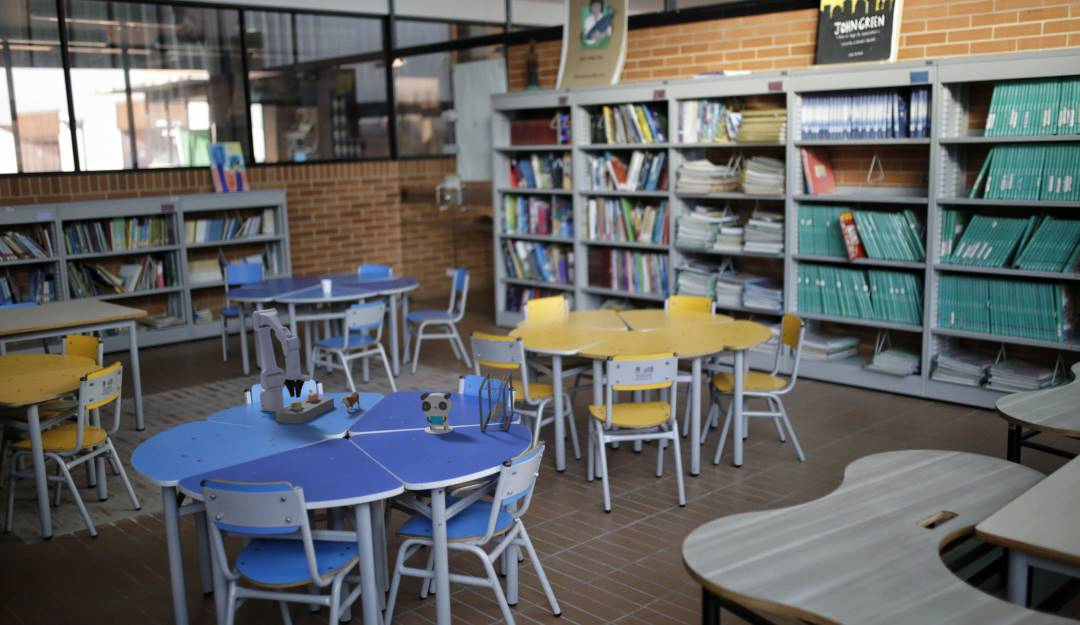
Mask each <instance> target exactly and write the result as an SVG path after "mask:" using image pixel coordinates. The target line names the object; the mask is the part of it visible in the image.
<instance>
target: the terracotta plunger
mask: <svg viewBox="0 0 1080 625" xmlns="http://www.w3.org/2000/svg"><path fill="white" fill-rule="evenodd" d="M319 397H320V396H319V393H315V392H311V393H308V394H307V398H308V403H317V402H319Z"/></svg>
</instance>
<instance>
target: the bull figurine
mask: <svg viewBox="0 0 1080 625" xmlns="http://www.w3.org/2000/svg"><path fill="white" fill-rule="evenodd" d="M339 402H340V404H344V405H345V407H346V409H347V410H346V413H350V414H353V413H354V411H353V409H354V406H355V404H357V409H360V395H359V393H358V392H356V391H354V392H352V393H351V394H349V395H342V396H341V399H340V401H339Z"/></svg>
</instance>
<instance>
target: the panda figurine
mask: <svg viewBox="0 0 1080 625" xmlns="http://www.w3.org/2000/svg"><path fill="white" fill-rule="evenodd" d="M451 397H452V393H450V392H447V393H443V392H432V393H429V392H428V391H426V392H424V393H422V394H421V395H420V400H421V401H422V403H421V410H422V411H423V413H424V414H425V415H426V416H427V417H426V421H427V422H428V424H429V426H427V427H425V428H424V432H425V433H427V434H430V435H441V434H443V435H444V434H447V433H450V432H453V430H454V427H453V426H452V425H449V415H448V414H449V413H450V412H451V409H452V401H451V399H450V398H451Z"/></svg>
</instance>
